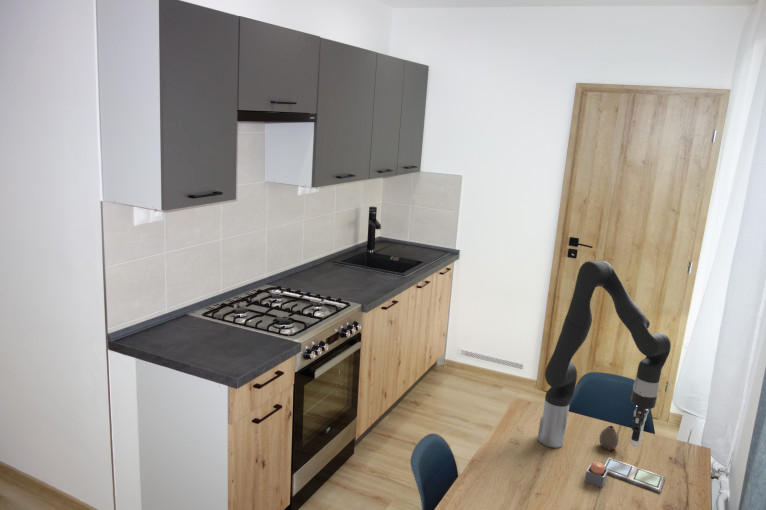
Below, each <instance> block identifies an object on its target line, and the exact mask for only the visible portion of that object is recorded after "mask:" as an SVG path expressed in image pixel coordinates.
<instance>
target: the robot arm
mask: <svg viewBox="0 0 766 510" xmlns="http://www.w3.org/2000/svg"><path fill="white" fill-rule="evenodd" d="M598 287H599V288H600V287H602V288H603V289H604V290H605V291H606V292H607V293H608V294H609V296H610V297H611V300H612V301H613V305H614V309H615V312H616V315H617V316H618V318H619V319H620V321H621V322H622V323H623V325H624V326H625V327H626V328H627V330H628V331H629V332H630V335H631V338H632V340H633V341H634V343H635V345H636V348H637V349H638V351H639V352H640V353H641V354H642V355H644V356H646V357H644V358H643V359H642V360H641V361H639V363H638V365H637V366H638V367H637V371H636V377H635V379H634V382H633V387H632V392H631V397H630V402H631V403H632V404H633V405H634V406H635V409H634V410H633V418H632V426H631V431H632V430H633V433H632V432H631V434H632V438H631V437H630V439H632V440H634V441H638V440H639V436H640V432H641V428H642V426H643V425H644V426H645V423H644V422H646V421H647V418H648V414H649V410H652V409H654V408H655V407H656V404H657V399H658V394H659V388H660V380H661V375H662V369H663V367H664V366H665V363H666V361H667V359H668V357H669V355H670V353H671V349H672V348H671V346H672V343H671V340H670V338H669V337H668V336H667V334H665V333H663V332H655V333H650V331H649V329H648V328H649V327H650V321H649V319H648V317H646V315H645V314H644V312H643V311H642V310H641V309H640V308H639V306H638V305H637V304H636V303H635V302H634V300H633V299H632V298H631V296H630V294H629V293H628V292H627V290H626V288H625V287H624V285H623V283H622V281H621V280H620V277H619V276H618V274H617V272H616V271H615V269H614V268H613V266H612V265H611V264H610V263H609V262H607V261H605V260H589V261H585V262H584V263H582V264H581V265H580V268H579V269H578V273H577V276H576V281H575V285H574V290H573V295H572V297H571V300H570V304H569V307H568V309H567V310H568V311H567V312H566V315H565V319H564V321H563V324H562V328H561V332H560V334H559V337H558V340H557V342H556V345H555V348H554V351H553V353H552V355H551V357H550V359H549V361H548V363H547V366H546V368H545V372H544V378H545V381H546V384H547V385H548V386H550V387H549V388H548V390H547V391H546V392H545V397H544V403H543V410H542V416H541V417H540V420H539V427H538V432H537V433H538V435H537V439H536V440H537V441H538V442H539V443H541V444H542V445H544V446H546V447H549V448H554V449H557V448H561V447H563V446H564V442H565V435H566V430H567V428H566V427H567V423H568V416H569V410H570V404H571V400H572V398H573V397H574V393H575V389H576V386H577V385H576V384H577V379H578V371H577V368H576V365H574V363H573V362H572V359H573V358H574V355H575V354H576V353H577V351H578V350H579V349H580V347H582V345H583V343H584V342H585V341H586V339H587V338H588V335H589V332H590V328H591V327H592V323H593V314H592V309H591V301H592V297H593V294H594V292H595V289H596V288H598ZM645 418H646V420H645ZM642 420H643V421H642ZM635 426H636V427H635Z"/></svg>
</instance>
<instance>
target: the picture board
mask: <svg viewBox="0 0 766 510" xmlns="http://www.w3.org/2000/svg"><path fill="white" fill-rule="evenodd" d="M603 465H604V466H605V469H607V470H608V473H607V476H610V477H613V478H616V479H618V480H622V481H624V482H628V483H631V484H633V485H635V486H638V487H642V488H644V489H647V490H650V491H652V492H655V493H658V494H661V490H662V489H663V488H662V487H663V485H664V482H665V479H666V476H664V475H660V474H658V473H656V472H653V471H649V470H647V469H643V468H641V467H638V466H634V465H632V464H629V463H627V462H623V461H620V460H617V459H615V458H612V457H608V456H607V458H606V460H605V461H604V464H603Z"/></svg>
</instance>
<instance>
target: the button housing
mask: <svg viewBox="0 0 766 510" xmlns="http://www.w3.org/2000/svg"><path fill="white" fill-rule="evenodd" d="M591 464H592V463H590V464H589V466H588V467H587V469H586V472H585V475H584V476H585V477H584V482H586V483H587V484H591V485H593V486H595V487H596V486H597V487H599V488H602V489H603V487H604V486H605V483H606V481H607V479H608V474H607V473H608V470H607V469H604V475H603V476H600V475H597V474H595V473H592V472H590V470H591Z"/></svg>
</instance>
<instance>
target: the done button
mask: <svg viewBox="0 0 766 510" xmlns="http://www.w3.org/2000/svg"><path fill="white" fill-rule="evenodd" d="M590 464H591V470H590V472H592V473H595V474H597V475H600V476H603V475H604V469H605V466H604V464H603V463H601V462H599V461H592V463H590Z"/></svg>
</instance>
